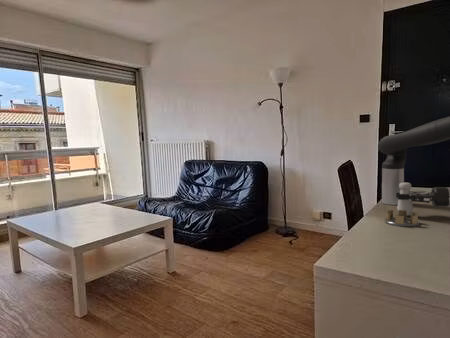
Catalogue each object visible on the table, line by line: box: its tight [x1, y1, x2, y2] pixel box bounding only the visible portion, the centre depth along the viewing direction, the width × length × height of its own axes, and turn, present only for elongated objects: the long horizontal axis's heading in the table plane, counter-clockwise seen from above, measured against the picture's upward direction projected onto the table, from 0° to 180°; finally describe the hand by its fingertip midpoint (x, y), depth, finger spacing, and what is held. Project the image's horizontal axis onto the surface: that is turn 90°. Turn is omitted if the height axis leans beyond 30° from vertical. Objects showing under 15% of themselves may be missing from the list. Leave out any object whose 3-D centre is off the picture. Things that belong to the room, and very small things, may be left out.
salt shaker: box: [396, 182, 414, 216], centre depth 122 cm, size 6×6×13 cm
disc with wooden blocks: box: [384, 209, 420, 228], centre depth 112 cm, size 11×11×4 cm
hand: (397, 196), depth 123 cm, fingers closed on salt shaker, 3 cm apart
